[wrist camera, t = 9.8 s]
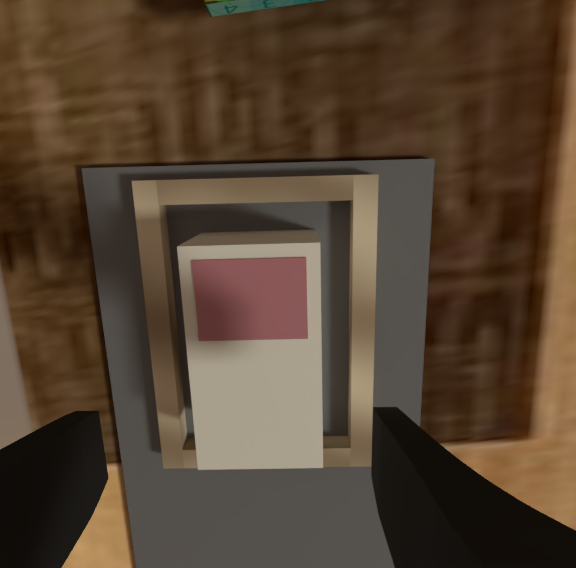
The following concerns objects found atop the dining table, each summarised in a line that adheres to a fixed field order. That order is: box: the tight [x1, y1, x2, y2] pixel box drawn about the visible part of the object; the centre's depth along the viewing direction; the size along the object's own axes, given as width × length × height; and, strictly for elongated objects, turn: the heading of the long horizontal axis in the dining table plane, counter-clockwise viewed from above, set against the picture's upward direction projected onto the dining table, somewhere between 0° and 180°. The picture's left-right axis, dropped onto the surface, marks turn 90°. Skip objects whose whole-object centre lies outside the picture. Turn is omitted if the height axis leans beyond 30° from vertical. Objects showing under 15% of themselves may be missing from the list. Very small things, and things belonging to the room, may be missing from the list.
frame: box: [132, 174, 379, 469], centre depth 19 cm, size 14×10×1 cm
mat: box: [81, 159, 435, 568], centre depth 21 cm, size 26×15×1 cm, turn 1°
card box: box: [177, 229, 323, 470], centre depth 18 cm, size 9×5×4 cm, turn 2°
